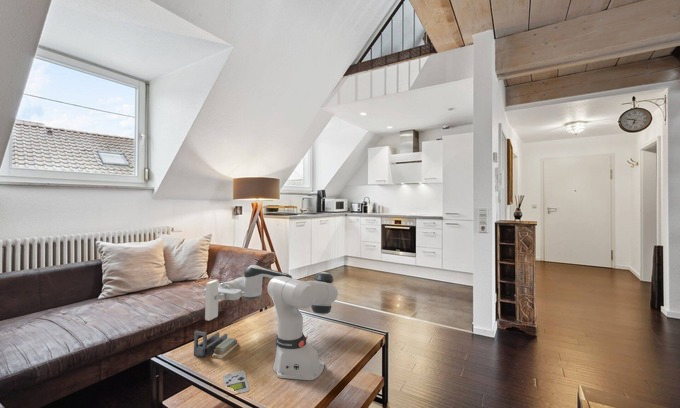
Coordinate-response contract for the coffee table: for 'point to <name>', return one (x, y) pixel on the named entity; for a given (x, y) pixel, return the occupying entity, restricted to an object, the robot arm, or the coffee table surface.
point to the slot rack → (207, 343)
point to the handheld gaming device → (236, 381)
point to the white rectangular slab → (211, 300)
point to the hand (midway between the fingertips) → (212, 297)
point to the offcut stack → (225, 348)
